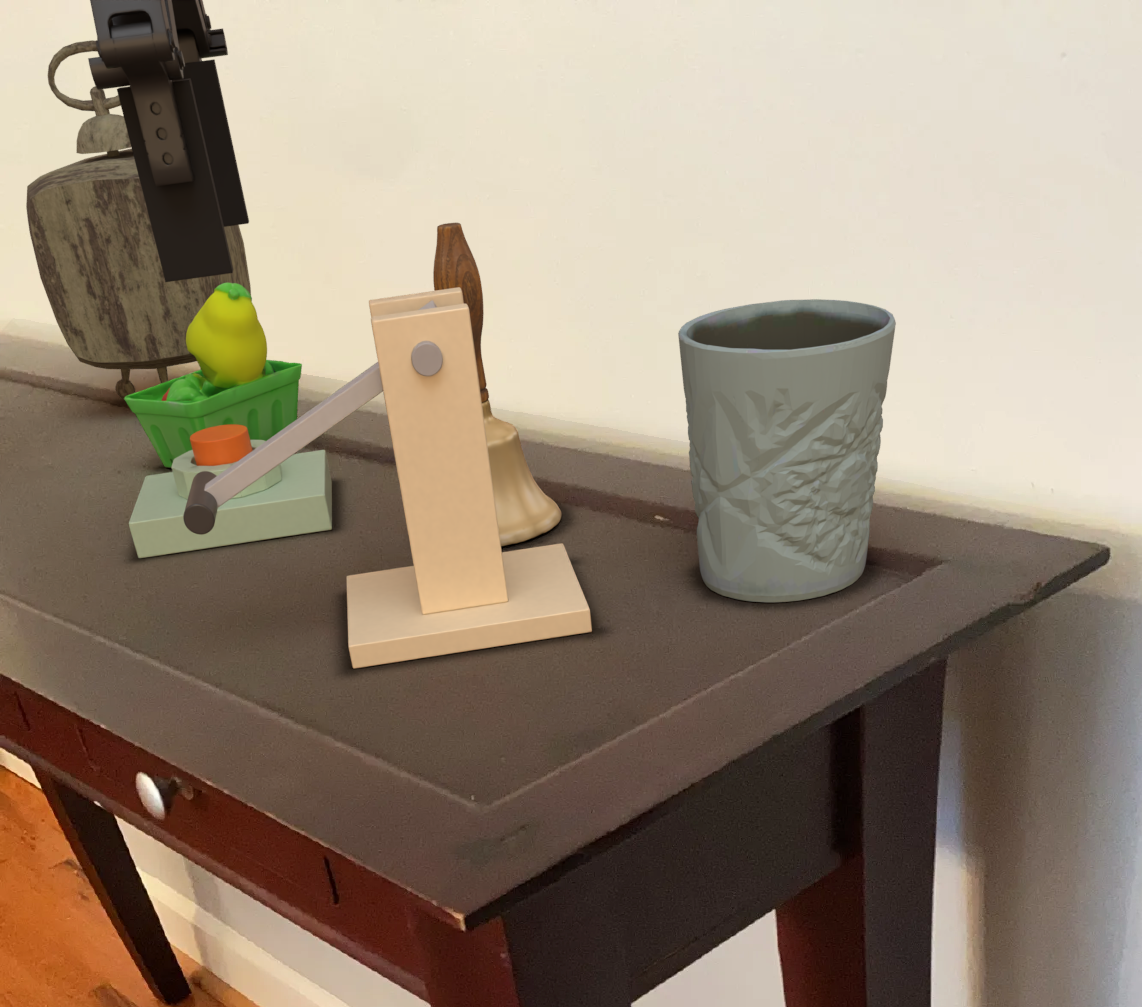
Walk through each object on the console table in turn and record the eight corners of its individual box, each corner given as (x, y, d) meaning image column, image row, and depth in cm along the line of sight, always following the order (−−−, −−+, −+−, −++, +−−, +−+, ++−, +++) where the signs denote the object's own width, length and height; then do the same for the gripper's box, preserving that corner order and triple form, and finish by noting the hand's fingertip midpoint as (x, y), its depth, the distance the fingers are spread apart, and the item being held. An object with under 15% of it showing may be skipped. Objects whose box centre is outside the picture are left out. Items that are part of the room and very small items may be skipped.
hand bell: (401, 548, 82) (346, 243, 72) (460, 501, 88) (417, 213, 78) (529, 552, 79) (491, 236, 69) (582, 503, 85) (553, 205, 75)
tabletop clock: (274, 382, 118) (195, 25, 103) (244, 412, 111) (155, 34, 96) (115, 397, 121) (14, 49, 105) (75, 427, 113) (-38, 58, 98)
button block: (138, 559, 85) (118, 493, 83) (154, 509, 93) (137, 447, 91) (332, 530, 86) (318, 463, 83) (332, 482, 94) (319, 420, 91)
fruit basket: (249, 426, 108) (211, 264, 101) (333, 434, 103) (299, 266, 96) (139, 472, 101) (90, 301, 94) (224, 483, 96) (179, 304, 89)
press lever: (203, 549, 66) (169, 506, 65) (211, 513, 71) (179, 472, 69) (467, 364, 63) (437, 315, 62) (458, 339, 67) (430, 293, 66)
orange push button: (194, 474, 86) (187, 444, 85) (199, 457, 89) (191, 429, 88) (252, 465, 86) (245, 436, 85) (255, 449, 89) (248, 421, 88)
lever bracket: (352, 669, 68) (284, 345, 59) (350, 596, 76) (289, 301, 67) (592, 632, 69) (560, 305, 60) (565, 564, 77) (533, 266, 68)
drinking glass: (687, 546, 77) (675, 309, 70) (872, 529, 76) (879, 288, 69) (694, 616, 69) (681, 358, 62) (899, 599, 68) (911, 334, 61)
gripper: (117, -550, 39) (288, 289, 52) (189, -376, 58) (300, 200, 71) (-154, -521, 38) (87, 317, 51) (10, -356, 58) (154, 219, 71)
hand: (211, 250), depth 61 cm, fingers open, 13 cm apart
